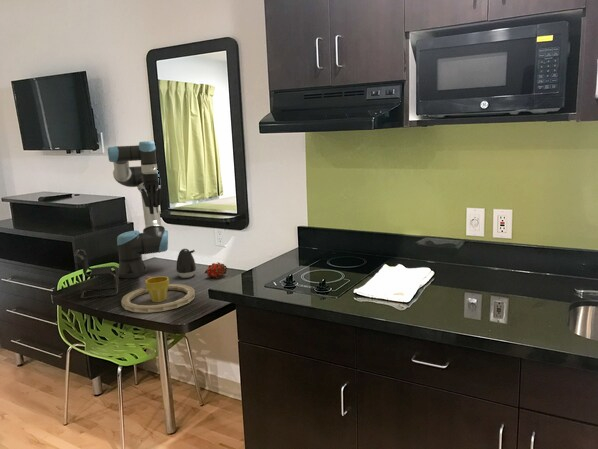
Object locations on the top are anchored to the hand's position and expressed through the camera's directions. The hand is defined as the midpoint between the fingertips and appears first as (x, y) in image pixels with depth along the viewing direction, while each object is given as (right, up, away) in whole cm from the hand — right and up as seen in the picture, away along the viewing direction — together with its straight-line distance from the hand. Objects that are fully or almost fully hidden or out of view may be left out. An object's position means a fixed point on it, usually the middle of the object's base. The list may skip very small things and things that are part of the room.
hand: (154, 220), depth 245 cm
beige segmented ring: (+8, -37, -20) cm, 43 cm away
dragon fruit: (+29, -30, +10) cm, 43 cm away
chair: (-24, -36, -8) cm, 44 cm away
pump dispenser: (+13, -30, +14) cm, 35 cm away
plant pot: (+8, -37, -20) cm, 43 cm away
